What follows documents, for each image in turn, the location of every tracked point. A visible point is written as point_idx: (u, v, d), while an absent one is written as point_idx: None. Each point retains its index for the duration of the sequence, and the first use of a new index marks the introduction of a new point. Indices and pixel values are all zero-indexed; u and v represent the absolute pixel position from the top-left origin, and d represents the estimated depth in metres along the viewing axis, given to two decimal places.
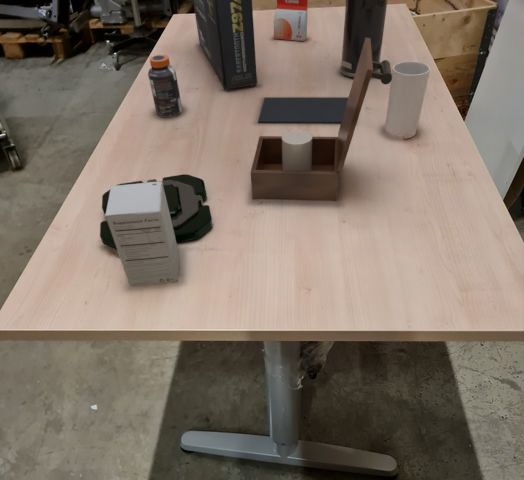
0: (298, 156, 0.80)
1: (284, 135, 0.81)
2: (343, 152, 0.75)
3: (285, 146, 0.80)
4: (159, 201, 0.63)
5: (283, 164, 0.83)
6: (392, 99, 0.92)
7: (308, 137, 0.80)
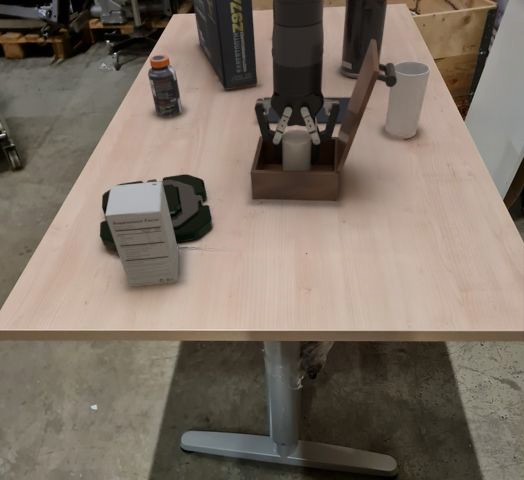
0: (298, 156, 0.80)
1: (284, 135, 0.81)
2: (344, 152, 0.75)
3: (285, 146, 0.80)
4: (159, 201, 0.63)
5: (283, 164, 0.83)
6: (392, 99, 0.92)
7: (308, 137, 0.80)
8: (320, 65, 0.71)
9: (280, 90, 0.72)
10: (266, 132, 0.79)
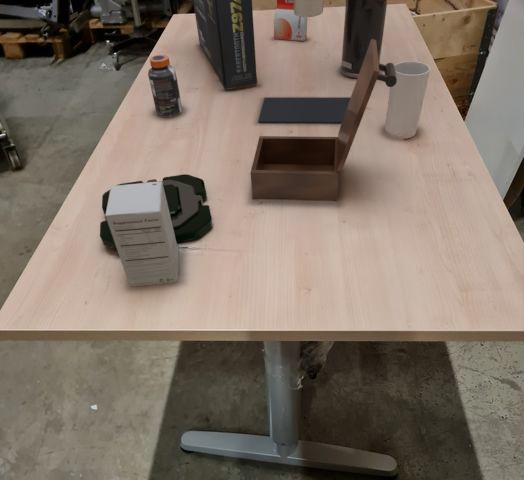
0: None
1: None
2: (344, 152, 0.75)
3: None
4: (159, 201, 0.63)
5: None
6: (392, 99, 0.92)
7: None
8: None
9: None
10: None
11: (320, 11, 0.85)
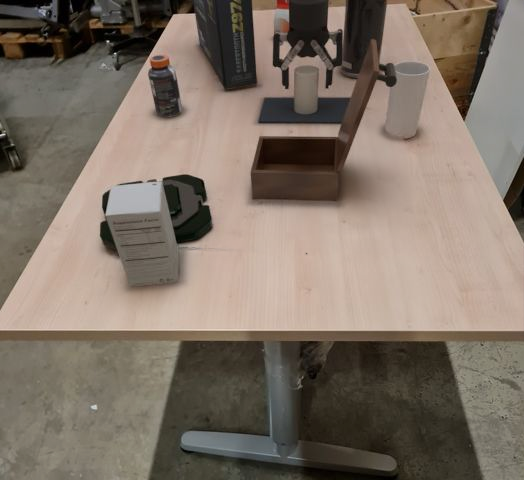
0: (307, 85, 1.00)
1: (296, 69, 1.00)
2: (344, 152, 0.75)
3: (297, 77, 0.99)
4: (159, 201, 0.63)
5: (295, 94, 1.03)
6: (392, 99, 0.92)
7: (315, 70, 1.00)
8: (326, 4, 0.90)
9: (295, 25, 0.92)
10: (277, 60, 0.98)
11: (315, 109, 1.05)
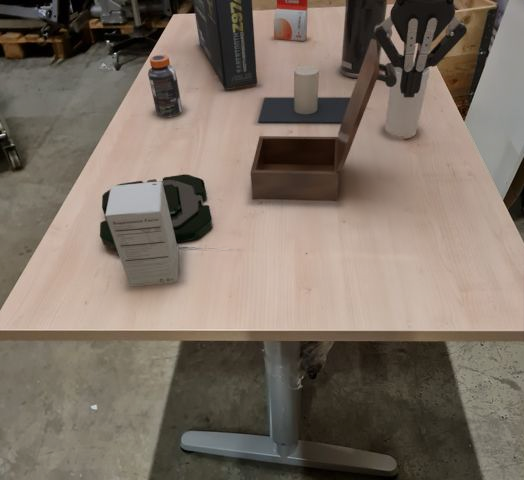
0: (307, 85, 1.00)
1: (296, 69, 1.00)
2: (344, 152, 0.75)
3: (297, 77, 0.99)
4: (159, 201, 0.63)
5: (295, 94, 1.03)
6: (392, 99, 0.92)
7: (315, 70, 1.00)
8: None
9: None
10: (396, 56, 0.69)
11: (315, 109, 1.05)
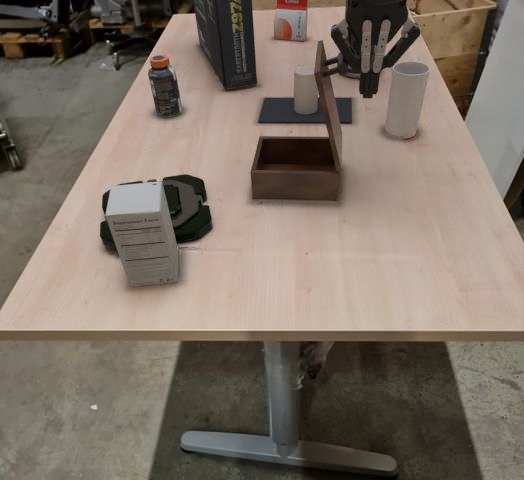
0: (307, 85, 1.00)
1: (296, 69, 1.00)
2: (333, 153, 0.76)
3: (297, 77, 0.99)
4: (159, 201, 0.63)
5: (295, 94, 1.03)
6: (392, 99, 0.92)
7: None
8: None
9: None
10: (352, 57, 0.69)
11: (315, 109, 1.05)
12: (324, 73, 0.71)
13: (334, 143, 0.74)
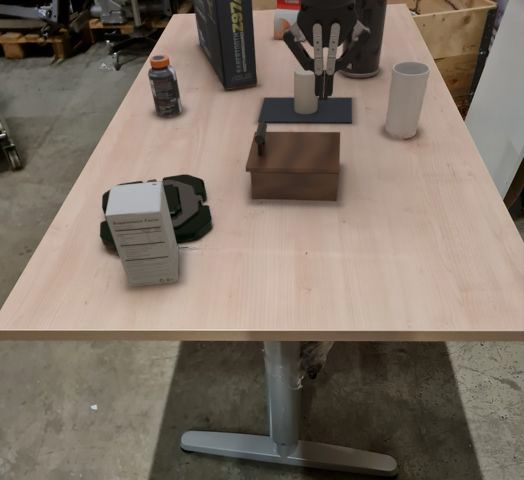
0: (307, 85, 1.00)
1: (296, 69, 1.00)
2: (319, 172, 0.78)
3: (297, 77, 0.99)
4: (159, 201, 0.63)
5: (295, 94, 1.03)
6: (392, 99, 0.92)
7: None
8: None
9: (309, 1, 0.64)
10: (305, 60, 0.70)
11: (315, 109, 1.05)
12: (259, 154, 0.81)
13: (310, 169, 0.78)
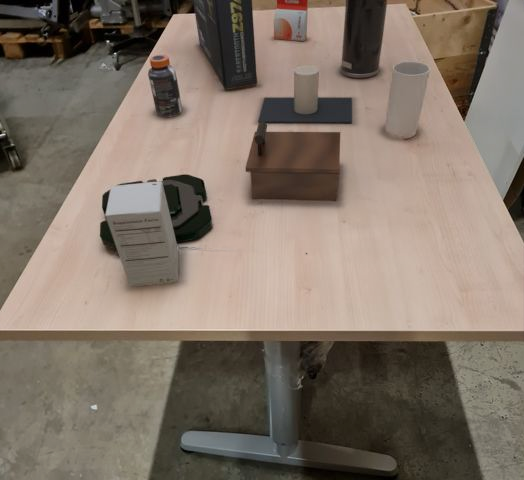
0: (307, 85, 1.00)
1: (296, 69, 1.00)
2: (319, 172, 0.78)
3: (297, 77, 0.99)
4: (159, 201, 0.63)
5: (295, 94, 1.03)
6: (392, 99, 0.92)
7: (315, 70, 1.00)
8: None
9: None
10: None
11: (315, 109, 1.05)
12: (259, 154, 0.81)
13: (310, 169, 0.78)
